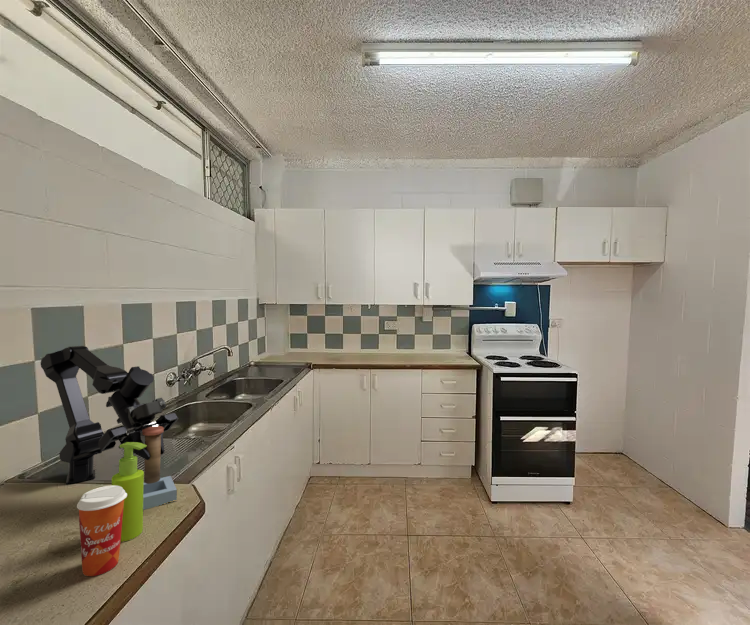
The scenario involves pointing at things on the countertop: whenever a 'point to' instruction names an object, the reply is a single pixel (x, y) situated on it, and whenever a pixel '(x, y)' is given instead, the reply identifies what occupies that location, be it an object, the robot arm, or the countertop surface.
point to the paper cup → (101, 528)
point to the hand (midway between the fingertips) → (156, 456)
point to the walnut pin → (152, 453)
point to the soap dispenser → (131, 491)
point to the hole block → (159, 492)
